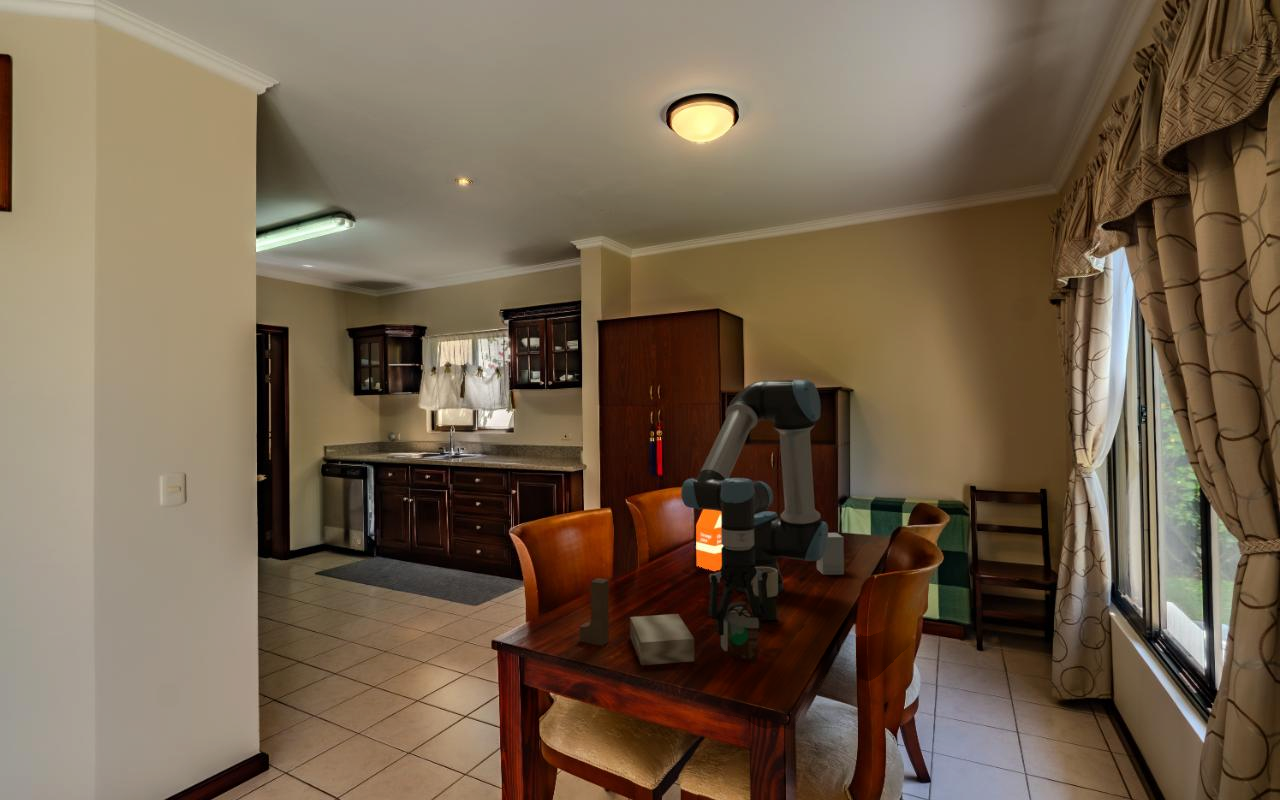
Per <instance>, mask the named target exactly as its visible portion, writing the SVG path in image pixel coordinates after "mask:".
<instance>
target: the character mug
mask: <svg viewBox="0 0 1280 800" xmlns="http://www.w3.org/2000/svg"><path fill="white" fill-rule="evenodd" d="M755 568H756V570H759V571H760V570H763V571H765V572H766V573H767V574H768V578H767V582H766V587H767V598H768V610H769V614H768V615H767V616H763V618H762V620H763V622H764V621H774V620H776V619H777V618H778V616H777V615H778V614H777V607H776V600H775V598H774V597H776V596H778V595H779V593H778V570H777V569H775V568H771V567H755ZM751 585H752V588H753V592H754V595H755V598H756V601H757V604H758V607H759V609H760V604H759V593H758V579H757V578H756V575H755V577H754V578H753V580H752V581H751ZM762 620H761V621H762Z"/></svg>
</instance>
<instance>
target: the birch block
mask: <svg viewBox="0 0 1280 800" xmlns="http://www.w3.org/2000/svg"><path fill="white" fill-rule="evenodd" d="M629 622H630V627H629V628H630V629H629V632H630V639H631V643H632V644H633V645H632V646H633V648H634V650H635V654H636V655H637V657H638V660H639V663H640V665H641V666H651V665H663V664H673V663H675V664H676V663H686V662H687V663H688V662H695V637H694V636H693V634H692V633H691V632H690V630H689V628H688V627H687V625H686V624H685V622H684V621H683V619H682V618H681V616H680V615H679V614H678V613H670V614H659V615H658V614H657V615H642V616H639V615H638V616H631V617H629Z"/></svg>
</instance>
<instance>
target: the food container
mask: <svg viewBox="0 0 1280 800" xmlns="http://www.w3.org/2000/svg"><path fill="white" fill-rule="evenodd" d="M724 619H725V620H726V621H727V629H728V642H729V644H728V645H729V653H730V655H731V657H734V658H735V659H737V660H740V661H743V662H752V663H753V662H755V663H757V662H759V661H758V659H759V657H758V654H759V651H758V650H759V632H758V628H759V621H758V618H754V617H753V613H752V610H749V608H747V607H746V601H737V602H732V603H729V605H728V608H727V612H726V615H725V618H724Z"/></svg>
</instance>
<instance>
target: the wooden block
mask: <svg viewBox="0 0 1280 800" xmlns="http://www.w3.org/2000/svg"><path fill="white" fill-rule="evenodd" d="M609 581H610V580H609V579H606V578H599V577H598V578H595V579H593V580H592V581H590V622H585V623H583V624H582V625H579V629H578V631H579V632H578V634H579V637H578V638H579V643H585V644H589V645H595V646H599V647H604V646H605V645H606V644H608V643H609V642H610V624H609V622H610V619H609V617H610V615H609V613H610V605H609V603H610V601H609V599H610V598H609V596H610V595H609V593H610V591H609V587H610V586H609V585H610V584H609V583H610V582H609Z"/></svg>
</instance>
